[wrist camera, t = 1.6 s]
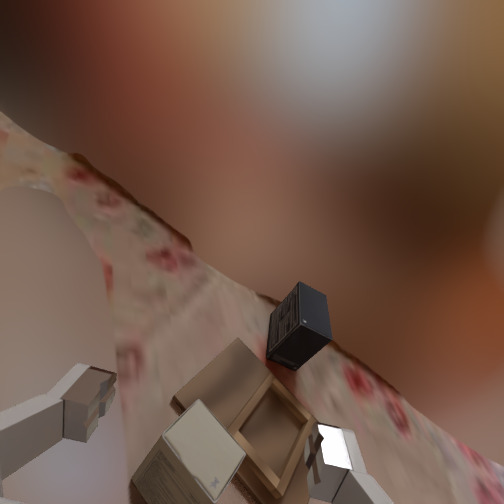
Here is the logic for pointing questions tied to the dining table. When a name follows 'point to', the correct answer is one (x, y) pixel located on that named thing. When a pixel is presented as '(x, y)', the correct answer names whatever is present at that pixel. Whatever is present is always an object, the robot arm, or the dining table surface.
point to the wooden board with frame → (256, 423)
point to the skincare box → (190, 460)
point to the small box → (299, 327)
